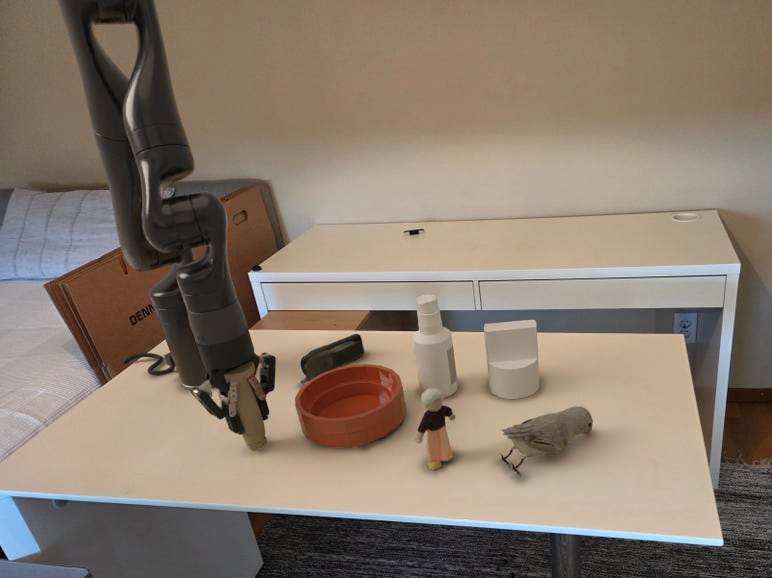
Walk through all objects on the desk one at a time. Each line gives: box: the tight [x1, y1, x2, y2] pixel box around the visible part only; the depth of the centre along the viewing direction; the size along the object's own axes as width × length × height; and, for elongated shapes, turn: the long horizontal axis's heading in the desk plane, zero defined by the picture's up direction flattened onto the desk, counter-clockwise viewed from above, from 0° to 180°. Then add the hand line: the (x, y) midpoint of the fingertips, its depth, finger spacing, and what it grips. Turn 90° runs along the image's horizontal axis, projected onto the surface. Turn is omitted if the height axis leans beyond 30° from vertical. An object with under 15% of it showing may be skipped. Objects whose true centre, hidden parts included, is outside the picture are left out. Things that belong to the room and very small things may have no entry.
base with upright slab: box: [483, 319, 540, 400], centre depth 111 cm, size 9×9×12 cm
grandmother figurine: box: [414, 388, 457, 471], centre depth 94 cm, size 8×4×13 cm, turn 148°
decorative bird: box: [499, 405, 594, 478], centre depth 94 cm, size 5×16×8 cm, turn 122°
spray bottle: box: [412, 293, 459, 399], centre depth 111 cm, size 7×7×18 cm
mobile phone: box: [299, 333, 365, 385], centre depth 124 cm, size 5×3×15 cm
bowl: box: [294, 363, 407, 449], centre depth 107 cm, size 18×18×6 cm
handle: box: [224, 361, 268, 451], centre depth 100 cm, size 5×6×15 cm
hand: (251, 425), depth 102 cm, fingers closed on handle, 4 cm apart
